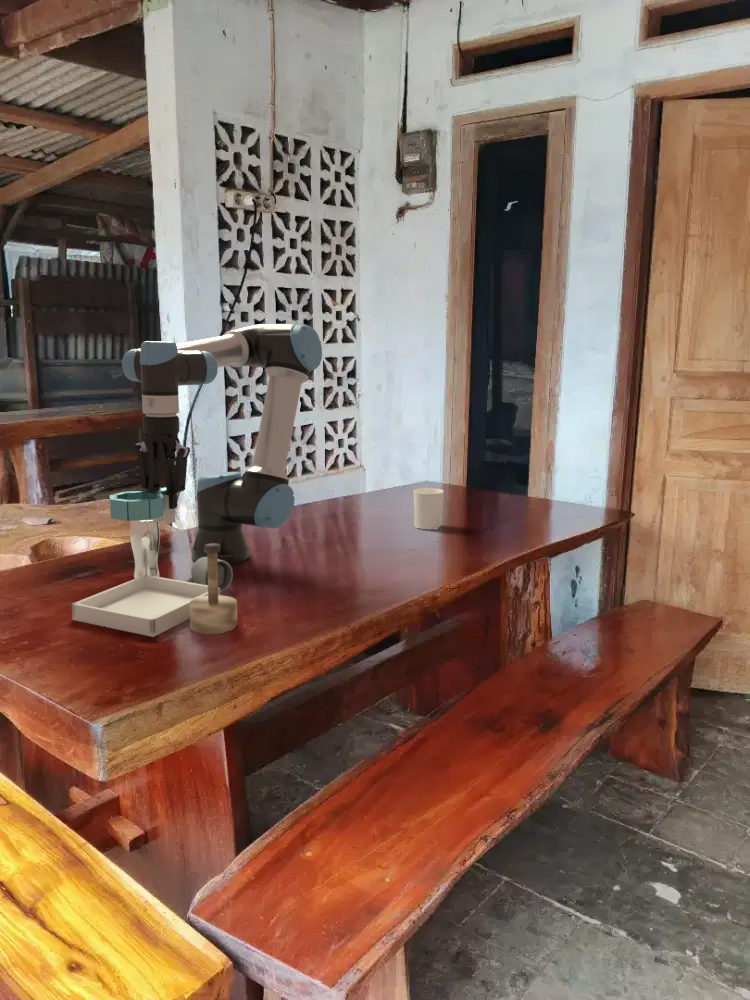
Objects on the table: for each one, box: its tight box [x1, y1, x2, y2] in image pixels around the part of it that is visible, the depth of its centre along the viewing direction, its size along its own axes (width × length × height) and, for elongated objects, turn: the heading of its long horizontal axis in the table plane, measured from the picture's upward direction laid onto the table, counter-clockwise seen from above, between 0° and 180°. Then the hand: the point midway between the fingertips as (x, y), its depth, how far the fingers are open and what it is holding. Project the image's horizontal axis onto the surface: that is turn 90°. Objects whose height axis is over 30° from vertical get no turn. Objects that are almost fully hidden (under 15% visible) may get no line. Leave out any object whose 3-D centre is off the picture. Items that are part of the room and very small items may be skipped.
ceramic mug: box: [185, 557, 234, 593], centre depth 181 cm, size 11×8×8 cm
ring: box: [108, 486, 167, 522], centre depth 163 cm, size 17×10×4 cm, turn 156°
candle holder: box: [412, 487, 445, 530], centre depth 247 cm, size 10×10×12 cm
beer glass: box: [129, 519, 161, 579], centre depth 189 cm, size 7×7×15 cm
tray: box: [71, 575, 221, 638], centre depth 167 cm, size 23×21×4 cm
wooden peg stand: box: [189, 543, 238, 635], centre depth 158 cm, size 10×10×17 cm
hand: (164, 521), depth 169 cm, fingers closed on ring, 2 cm apart
